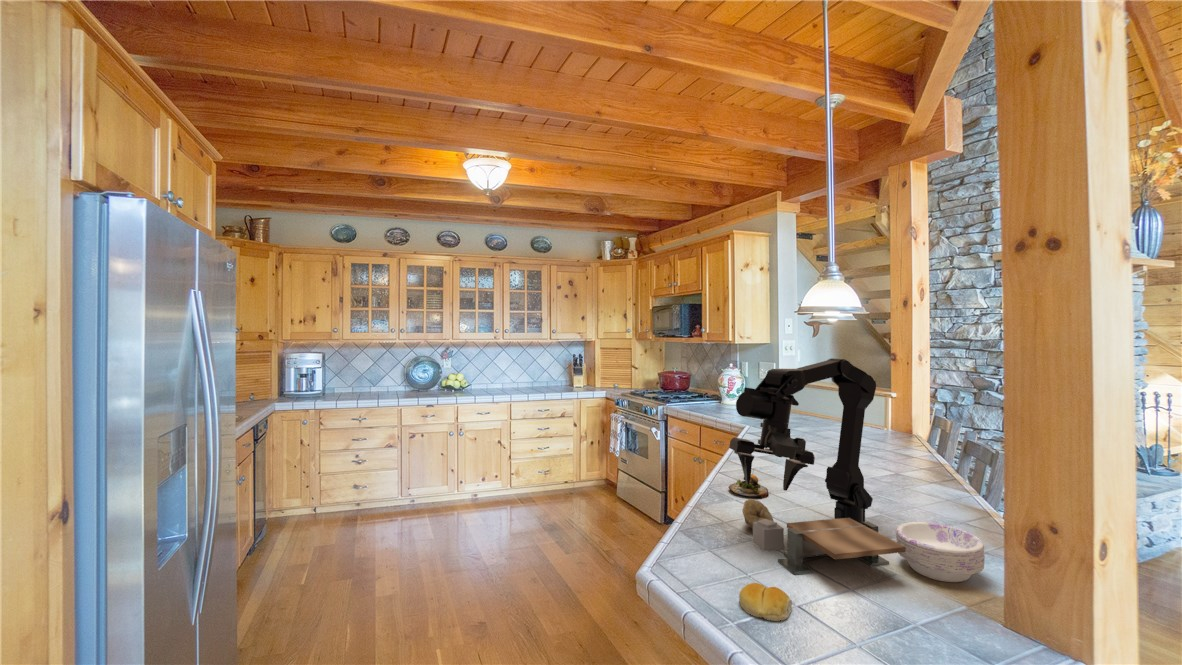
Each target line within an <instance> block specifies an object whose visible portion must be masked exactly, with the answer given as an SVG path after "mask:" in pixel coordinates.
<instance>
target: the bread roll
mask: <svg viewBox="0 0 1182 665" xmlns="http://www.w3.org/2000/svg"><path fill="white" fill-rule="evenodd" d="M738 598H739V604H740V607H741V608H742V609H743V610H744V611H745V613H747V614H749V615H750V614H751V615H750V616H752V615H753V617H755V616H756V617H755V618H759V617H760V618H763V619H765V620H766V619H767V621H770V620H771V621H772V622H780V620H781V621H784V620H787V619H788V618H789V616H790V615H791V612H792V609H793V608H792V606H793V600H792V599H791V598H790V597H789V595H788V594H787V593H786V592H785V591H784V590H782V589H781V588H779V587H776V586H770V587H766V586H764V584H761V583H758V582H751V583H748V584H746V585H745V586H743V587H742V588H741V590H740V591H739V595H738Z"/></svg>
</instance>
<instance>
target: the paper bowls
mask: <svg viewBox="0 0 1182 665" xmlns="http://www.w3.org/2000/svg"><path fill="white" fill-rule="evenodd" d="M895 532H896V533H895V535H896V538H895V539H896V542H897V543H899V544H901V545H903V546H905V547H906V552H900V553H897V554H898V555H899V556H900V557H902V558H903V559H904V560H906V561H907V563H908V565H909V566H910V567H911V568H912V569H913V571H915V572H916V573H918V574H919V575H922V576H924V577H926V578H930V579H932V580H936V581H939V582H946V583H961V582H962V583H963V582H966V581H967V580H968V579H970V578H971V576H972V575H974V574H978V573H980V572H982V571H983V570H984V569H985V558H986V557H985V544H984V542H983V541H982V540H981V539H980V538H979V537H978V536H976V535H974V534H973V533H970V532H969V531H965V530H964V529H960V528H957V527H954V526H950V525H946V524H940V523H934V522H924V521H922V522H921V521H919V522H918V521H914V522H913V521H912V522H904V523H902V524H900V525H898V526H897V527H896V531H895Z"/></svg>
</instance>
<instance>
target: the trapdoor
mask: <svg viewBox="0 0 1182 665" xmlns="http://www.w3.org/2000/svg"><path fill="white" fill-rule="evenodd" d="M786 528H787V529H788V528H795V529H796V530H798V531H799V532H801V533H803V548H802V557H803V556H812V555H822V554H828V555H827V556H829V557H831V558H832V559H834V560H842V559H852V558H857V557H862V556H872V555H879V556H880V555H889V554H898V553H900V552H906V547H905V546H903V545H901V544H899V543H897V541H895V540H893V539H891V538H889V537H887V536H885V535H884V534H881V533H879V531H878V532H876V531H874V530H872V529H870V528H868V527H866V526H865V525H862V524H860V523H858V522H857V521H855V520H853V519H851V518H840V519H834V518H830V519H819V520H818V519H817V520H808V521H807V520H806V521H796V522H787V523H786Z"/></svg>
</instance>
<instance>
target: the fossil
mask: <svg viewBox="0 0 1182 665" xmlns="http://www.w3.org/2000/svg"><path fill="white" fill-rule="evenodd" d="M741 510H742V515H743V518H744V523H745V524H746V525H748V526H749V527H750V528H751V529H752V530H753V522H757V521H759V520H762V519H768V520H772V521H774V517H773V515H772V513H771V512H770V511H769V509H768V507H767V506H766V505H764V504H763V503H762V502H761V501H760V500H758V499H756V500H755V499H752V498H750V499H746V500H744V502H743V507H742V509H741Z"/></svg>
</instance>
